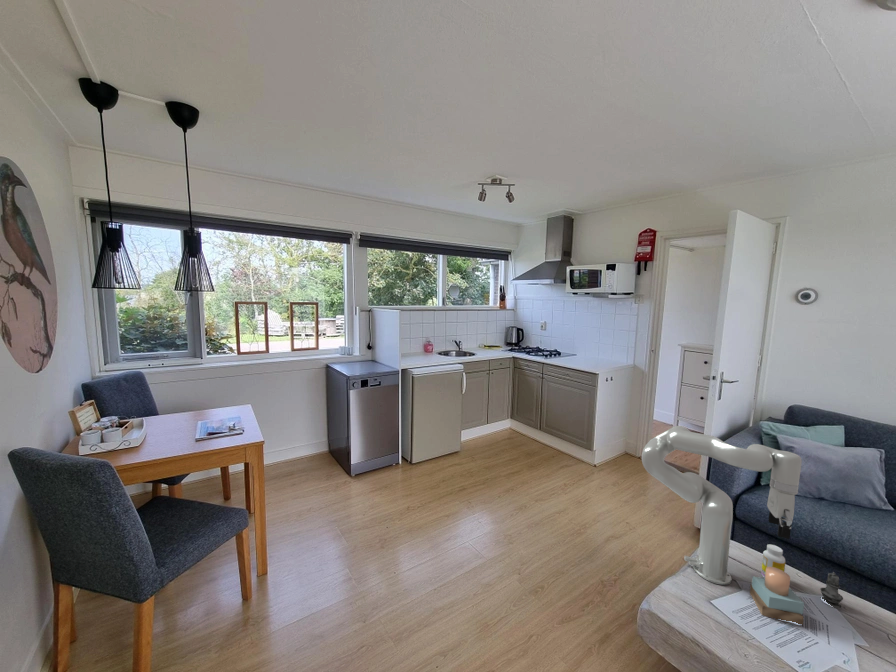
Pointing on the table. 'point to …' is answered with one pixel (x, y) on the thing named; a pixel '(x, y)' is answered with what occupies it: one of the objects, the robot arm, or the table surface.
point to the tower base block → (775, 610)
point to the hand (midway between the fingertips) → (778, 530)
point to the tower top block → (777, 598)
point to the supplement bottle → (772, 559)
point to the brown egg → (777, 581)
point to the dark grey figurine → (832, 591)
